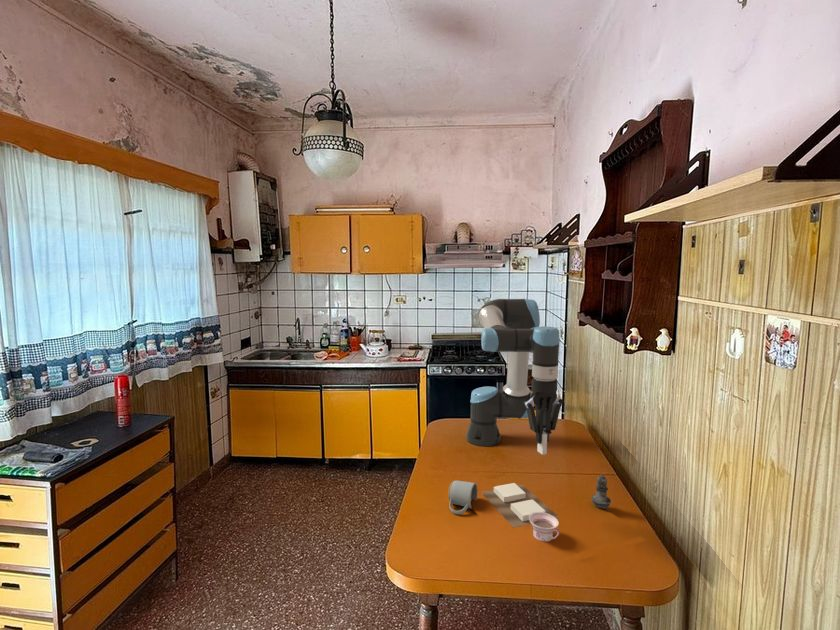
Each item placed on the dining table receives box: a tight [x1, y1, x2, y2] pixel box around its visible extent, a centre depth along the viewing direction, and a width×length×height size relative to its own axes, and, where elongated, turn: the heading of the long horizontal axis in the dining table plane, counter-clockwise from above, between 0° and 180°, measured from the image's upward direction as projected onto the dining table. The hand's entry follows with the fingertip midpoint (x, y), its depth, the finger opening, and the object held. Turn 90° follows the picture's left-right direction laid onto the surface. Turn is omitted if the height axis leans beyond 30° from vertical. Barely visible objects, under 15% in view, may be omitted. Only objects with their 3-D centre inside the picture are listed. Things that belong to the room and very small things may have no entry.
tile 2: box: [511, 499, 546, 521], centre depth 133 cm, size 7×2×8 cm
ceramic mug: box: [448, 480, 479, 515], centre depth 139 cm, size 11×8×8 cm
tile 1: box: [493, 482, 526, 502], centre depth 144 cm, size 7×2×8 cm
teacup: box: [529, 512, 561, 543], centre depth 122 cm, size 12×12×6 cm
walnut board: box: [480, 484, 560, 529], centre depth 139 cm, size 21×16×1 cm
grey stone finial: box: [591, 473, 612, 512], centre depth 137 cm, size 6×6×12 cm
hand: (541, 452), depth 133 cm, fingers closed
